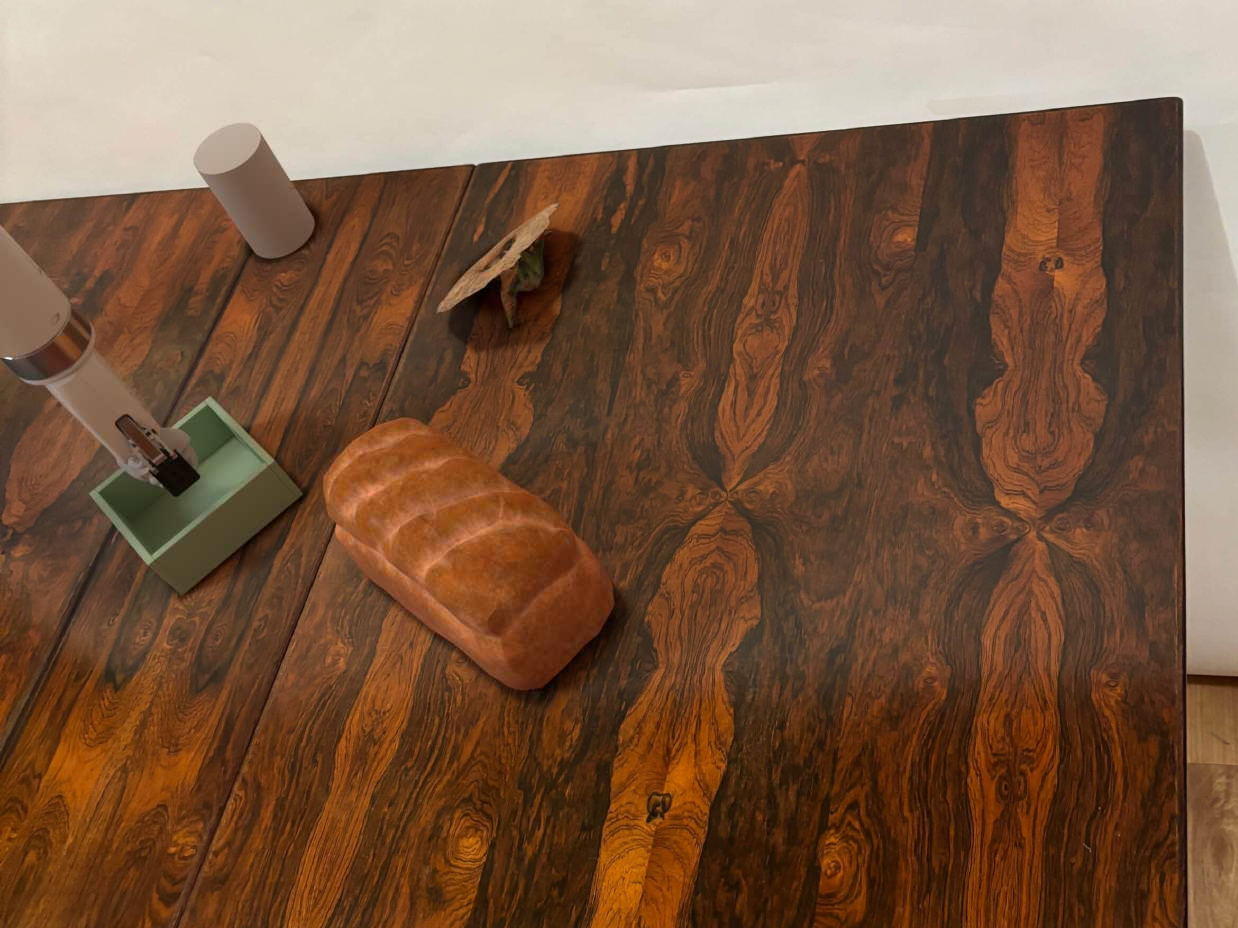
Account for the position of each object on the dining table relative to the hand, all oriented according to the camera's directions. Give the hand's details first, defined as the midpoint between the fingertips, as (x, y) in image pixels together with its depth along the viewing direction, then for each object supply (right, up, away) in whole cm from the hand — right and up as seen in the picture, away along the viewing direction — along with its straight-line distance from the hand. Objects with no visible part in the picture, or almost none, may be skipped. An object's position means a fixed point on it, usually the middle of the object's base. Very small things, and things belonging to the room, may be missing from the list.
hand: (170, 467), depth 115 cm
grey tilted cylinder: (+3, +32, +25) cm, 41 cm away
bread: (+32, -12, -6) cm, 35 cm away
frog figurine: (+1, -1, +2) cm, 2 cm away
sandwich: (+32, +21, +12) cm, 40 cm away
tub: (+2, -3, +6) cm, 7 cm away
